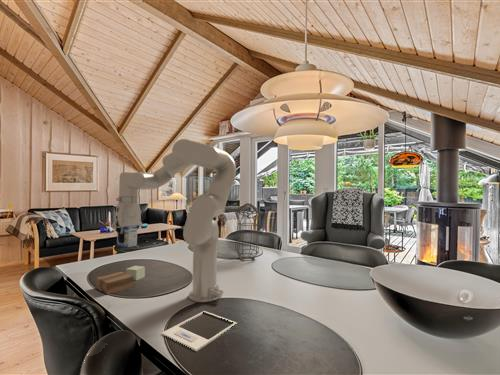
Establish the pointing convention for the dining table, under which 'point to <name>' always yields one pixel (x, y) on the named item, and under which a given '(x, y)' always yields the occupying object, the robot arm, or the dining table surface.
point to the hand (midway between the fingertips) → (126, 241)
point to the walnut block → (114, 282)
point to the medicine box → (129, 237)
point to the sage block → (136, 272)
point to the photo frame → (192, 334)
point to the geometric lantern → (247, 225)
